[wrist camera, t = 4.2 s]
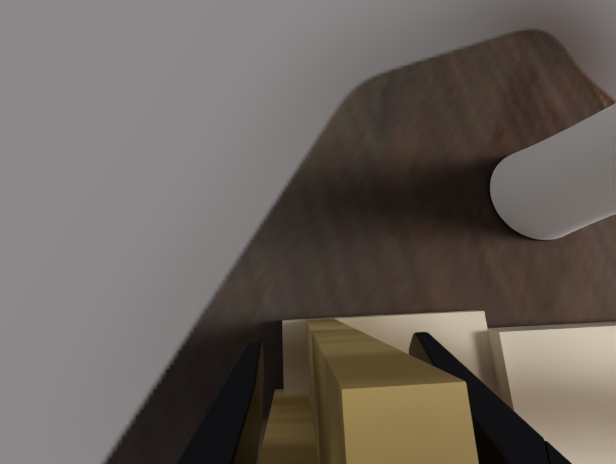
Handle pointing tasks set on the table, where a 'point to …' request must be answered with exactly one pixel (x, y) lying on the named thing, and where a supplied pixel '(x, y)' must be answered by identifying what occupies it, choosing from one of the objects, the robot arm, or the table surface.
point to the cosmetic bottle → (560, 180)
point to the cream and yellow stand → (437, 389)
